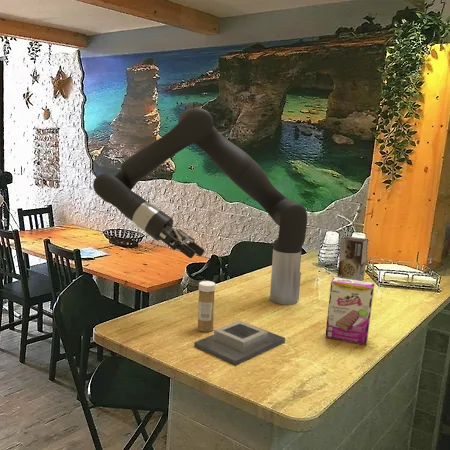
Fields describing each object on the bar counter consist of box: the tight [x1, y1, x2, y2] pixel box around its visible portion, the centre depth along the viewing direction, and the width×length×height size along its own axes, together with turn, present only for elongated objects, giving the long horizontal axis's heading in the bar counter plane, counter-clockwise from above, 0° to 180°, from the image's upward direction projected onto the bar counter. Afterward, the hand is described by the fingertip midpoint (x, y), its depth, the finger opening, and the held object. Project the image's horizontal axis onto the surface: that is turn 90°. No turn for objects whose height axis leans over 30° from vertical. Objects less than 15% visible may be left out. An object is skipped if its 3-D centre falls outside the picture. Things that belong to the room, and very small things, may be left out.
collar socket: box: [193, 320, 286, 366], centre depth 128 cm, size 20×14×4 cm
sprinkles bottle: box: [196, 280, 216, 333], centre depth 135 cm, size 5×5×13 cm
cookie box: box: [337, 235, 369, 281], centre depth 191 cm, size 9×6×16 cm
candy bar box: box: [324, 276, 375, 346], centre depth 134 cm, size 11×5×16 cm, turn 70°
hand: (198, 254), depth 135 cm, fingers open, 8 cm apart
